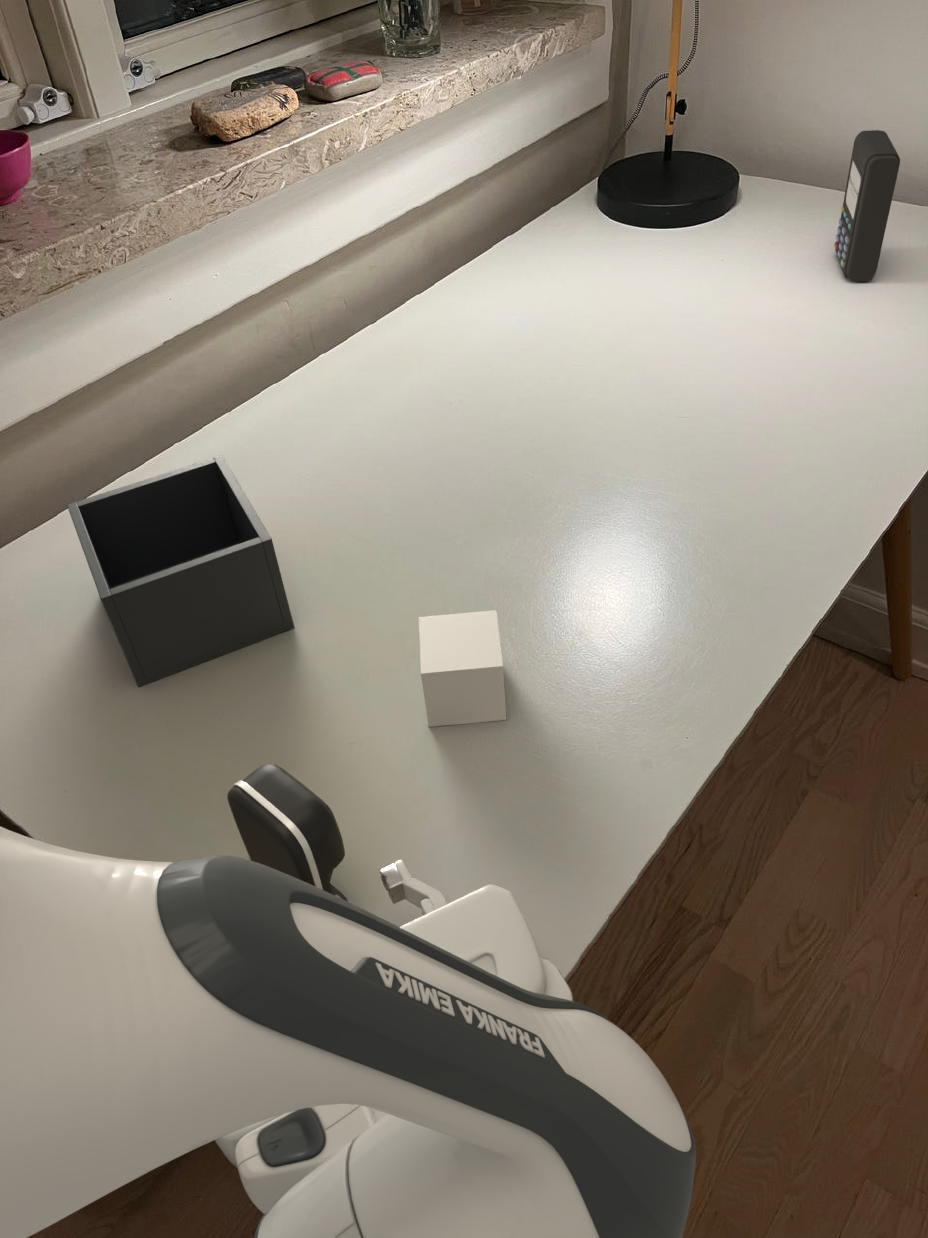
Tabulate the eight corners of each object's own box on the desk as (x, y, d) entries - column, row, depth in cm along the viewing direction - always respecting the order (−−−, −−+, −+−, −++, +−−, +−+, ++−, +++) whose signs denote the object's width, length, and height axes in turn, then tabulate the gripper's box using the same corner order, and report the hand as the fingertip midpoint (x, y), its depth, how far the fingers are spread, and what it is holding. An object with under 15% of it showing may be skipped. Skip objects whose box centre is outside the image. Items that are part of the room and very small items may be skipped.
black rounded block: (368, 907, 68) (341, 803, 60) (324, 947, 66) (291, 845, 58) (299, 848, 71) (266, 743, 64) (257, 885, 70) (217, 781, 62)
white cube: (425, 670, 83) (418, 616, 79) (499, 664, 83) (496, 609, 79) (428, 727, 79) (420, 673, 74) (506, 720, 79) (503, 665, 74)
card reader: (830, 251, 132) (852, 127, 121) (862, 250, 131) (887, 126, 121) (841, 284, 125) (866, 156, 115) (876, 283, 125) (903, 155, 114)
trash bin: (138, 687, 84) (100, 598, 77) (103, 591, 93) (66, 504, 86) (294, 627, 88) (271, 538, 81) (246, 541, 97) (221, 454, 90)
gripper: (590, 992, 53) (470, 801, 62) (209, 1193, 47) (139, 950, 57) (588, 1045, 57) (476, 859, 67) (239, 1236, 52) (169, 1003, 61)
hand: (318, 902), depth 62 cm, fingers open, 8 cm apart
